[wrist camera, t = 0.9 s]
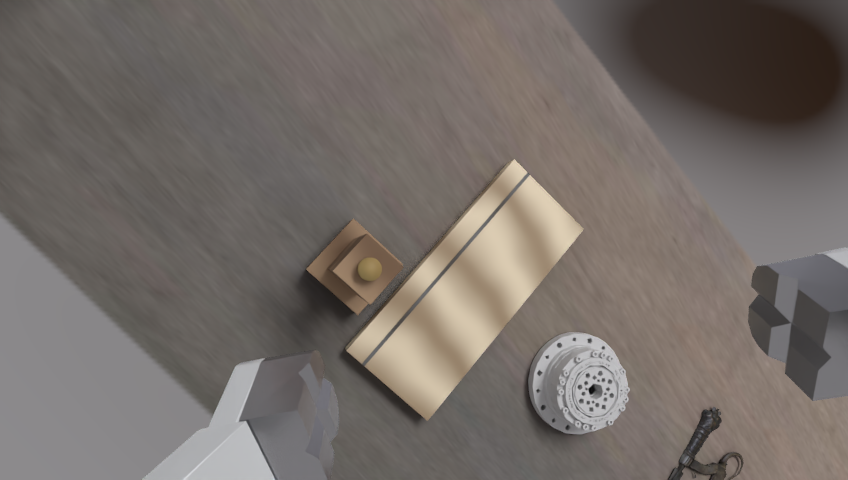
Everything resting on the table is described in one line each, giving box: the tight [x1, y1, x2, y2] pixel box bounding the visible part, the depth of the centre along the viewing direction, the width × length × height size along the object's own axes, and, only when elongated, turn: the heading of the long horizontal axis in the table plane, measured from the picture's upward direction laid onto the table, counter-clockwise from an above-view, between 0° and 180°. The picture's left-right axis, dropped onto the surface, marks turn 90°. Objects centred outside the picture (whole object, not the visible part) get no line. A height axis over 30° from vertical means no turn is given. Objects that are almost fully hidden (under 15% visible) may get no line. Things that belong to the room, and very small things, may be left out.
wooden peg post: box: [306, 219, 403, 315], centre depth 41 cm, size 6×6×13 cm
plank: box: [345, 160, 584, 421], centre depth 48 cm, size 24×10×2 cm, turn 138°
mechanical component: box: [528, 332, 630, 434], centre depth 50 cm, size 10×4×10 cm
